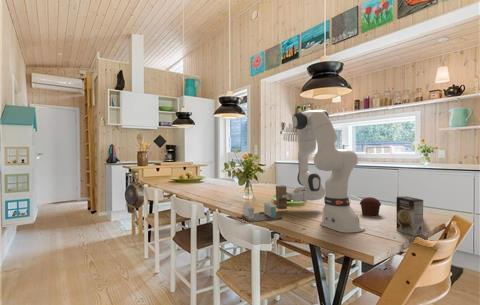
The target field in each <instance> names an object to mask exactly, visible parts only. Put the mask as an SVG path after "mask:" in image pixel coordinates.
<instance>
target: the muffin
mask: <svg viewBox="0 0 480 305" xmlns="http://www.w3.org/2000/svg"><path fill="white" fill-rule="evenodd" d="M359 205H360V207H361V214H362V216H366V217H379V213H380V210H381V209H380V208H381V206H382V203H381V202H380V200H378V199H377V198H375V197H371V196H370V197H365V198H362V199H361V200H360V202H359Z"/></svg>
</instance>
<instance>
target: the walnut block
mask: <svg viewBox="0 0 480 305" xmlns="http://www.w3.org/2000/svg"><path fill="white" fill-rule="evenodd" d="M286 190H287V186H286V185H283V184H282V185H275V206H276V210H287V209H288V202H287V201H288V200H287V199H288V198H282V197H281V195H287V194H286Z"/></svg>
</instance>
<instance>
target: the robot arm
mask: <svg viewBox="0 0 480 305" xmlns="http://www.w3.org/2000/svg"><path fill="white" fill-rule="evenodd" d="M291 121H292V126H293V127H294V129H296V130H297V144H298V154H297V155H298V156H297V157H298V158H297V159H298V172H297V182H298V184H299V185H300V187H296V188H295V189H286V194H287V195H281V197H282V198H287V199H289V200H290V201H295V202H305V203H306V202H307V201H311V202H312V201H319V200H321V199H323V201H324V206H323V208H322V213H321V214H322V216H321V221H320V222H319V225H320V226H322V227H325V228H328V229H331V230H334V231H337V232H339V233H346V234H347V233H358V232H364V231H366V228H365V226H363V225H361V224H360V223H361V222H360V217H359V215H358V214H357V213H356V212H355V211H354V209H353V208H352V207H351V204H352V202H351V201H350V199H349V197H348V195H349V194H348V186H349V178H350V176H351V174H352V171H353V170H354V169H355V168H356V166H357V165H358V163H359V162H358V161H359V158H358V155H357V153H356V152H354V151H352V150H348V149H337V148H336V147H335V144H336V142H337V141H338V135H337V132H336V130H335V128H334V126H333V124H332V122H331V120H330V117H329V113H328V112H327V110H325V109H311V110H305V111H304V110H303V111H297V112H295V113H294V114H293V116H292V119H291ZM316 149H317V151H316ZM314 152H316V153H315V155H314V157H313V165H314V166H315V168H316V169H317V170H319V171H324V172H331V174H330V176H329V177H328V178H327V179H326V180H325V182H324V184H325V185H324V186H323V184H322V180H321V177H320V175H319V174H318V173H315V172H311V171H310V170H309V157H310V156H311V154H313V153H314ZM301 186H302V187H301Z"/></svg>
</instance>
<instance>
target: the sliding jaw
mask: <svg viewBox="0 0 480 305" xmlns="http://www.w3.org/2000/svg"><path fill="white" fill-rule="evenodd" d="M263 210H264V211H263V212H264V213H265V215H267V216H268V218H277V208H276V205H274V204H272V203H271V202H264V204H263Z"/></svg>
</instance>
